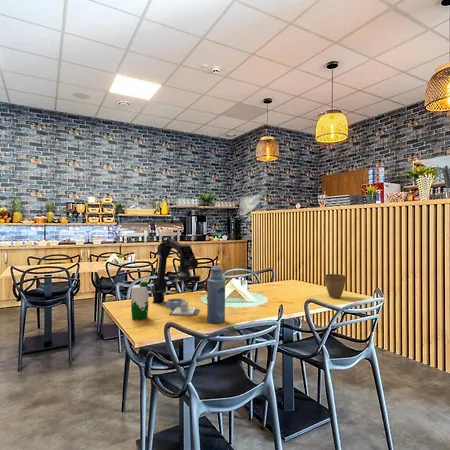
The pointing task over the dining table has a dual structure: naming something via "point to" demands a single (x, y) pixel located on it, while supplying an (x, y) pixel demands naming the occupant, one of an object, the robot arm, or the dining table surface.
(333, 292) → the plant pot
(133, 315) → the milk carton
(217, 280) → the bottle
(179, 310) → the cover
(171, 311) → the mat
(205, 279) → the ice cream bowl
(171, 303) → the dish
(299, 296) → the dining table surface
